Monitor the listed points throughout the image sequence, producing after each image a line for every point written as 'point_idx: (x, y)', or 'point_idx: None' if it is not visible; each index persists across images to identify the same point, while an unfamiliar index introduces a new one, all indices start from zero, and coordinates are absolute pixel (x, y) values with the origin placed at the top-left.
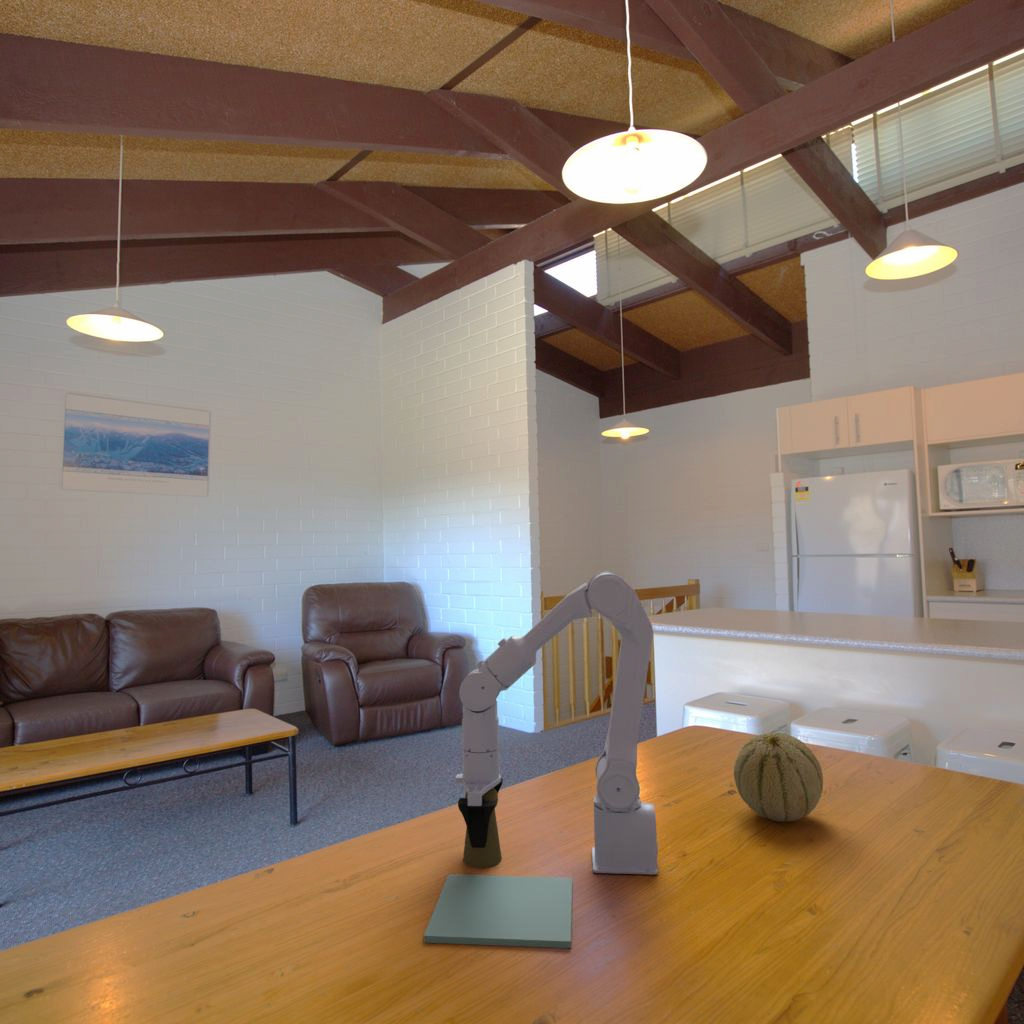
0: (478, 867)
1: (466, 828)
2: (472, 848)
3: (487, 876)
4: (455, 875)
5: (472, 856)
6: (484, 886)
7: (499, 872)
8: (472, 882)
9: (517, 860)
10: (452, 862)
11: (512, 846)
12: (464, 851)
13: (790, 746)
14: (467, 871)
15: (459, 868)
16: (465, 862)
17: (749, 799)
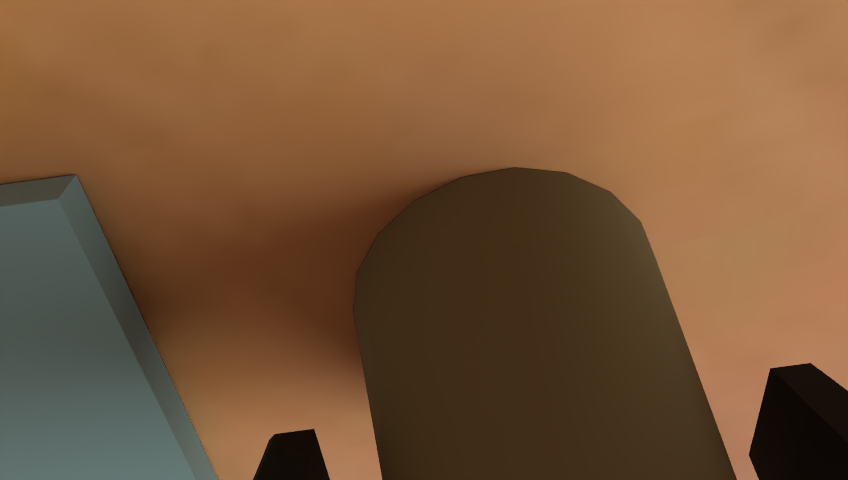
0: (354, 318)
1: (520, 413)
2: (378, 372)
3: (158, 443)
4: (66, 258)
5: (369, 326)
6: (17, 460)
7: (328, 433)
8: (26, 391)
9: None
10: (408, 102)
11: (718, 412)
12: (457, 241)
13: None
14: (279, 262)
15: (311, 193)
16: (400, 222)
17: None
